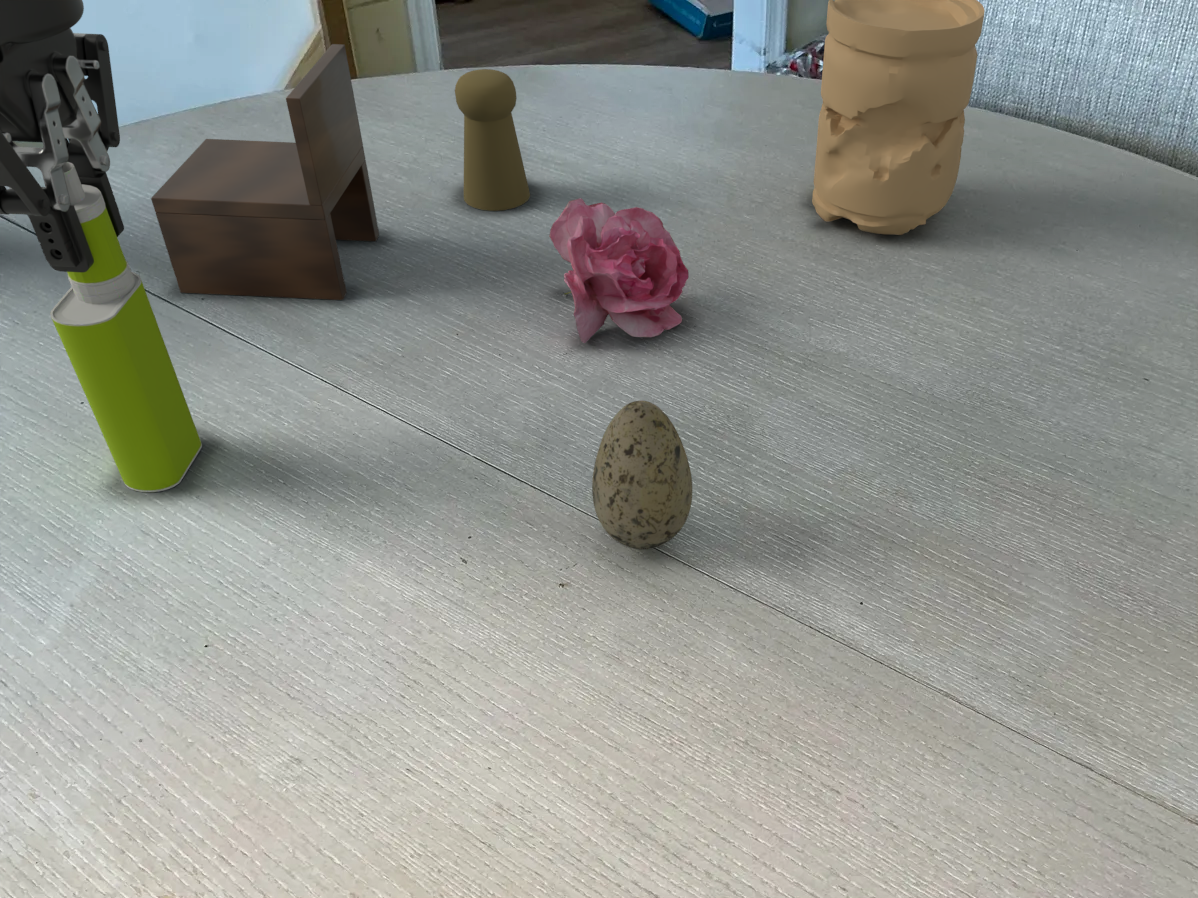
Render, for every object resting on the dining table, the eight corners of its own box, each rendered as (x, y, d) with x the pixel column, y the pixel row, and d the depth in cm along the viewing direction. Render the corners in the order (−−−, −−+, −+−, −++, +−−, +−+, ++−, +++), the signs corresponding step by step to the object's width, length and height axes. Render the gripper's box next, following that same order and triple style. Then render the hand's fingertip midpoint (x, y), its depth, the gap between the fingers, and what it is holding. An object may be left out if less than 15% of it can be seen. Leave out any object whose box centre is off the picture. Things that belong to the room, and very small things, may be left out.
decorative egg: (616, 582, 70) (610, 447, 63) (581, 522, 74) (571, 389, 67) (707, 555, 72) (710, 421, 65) (668, 498, 76) (667, 366, 69)
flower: (698, 350, 95) (712, 297, 85) (577, 376, 93) (577, 324, 83) (663, 223, 97) (672, 158, 87) (544, 246, 95) (540, 182, 85)
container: (784, 201, 108) (797, -6, 96) (889, 172, 113) (914, -28, 101) (870, 258, 100) (896, 40, 88) (979, 223, 105) (1018, 13, 93)
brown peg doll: (485, 217, 104) (470, 92, 97) (451, 192, 108) (434, 71, 100) (543, 198, 107) (533, 76, 100) (507, 175, 111) (495, 56, 103)
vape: (209, 434, 79) (108, 152, 65) (173, 493, 75) (56, 206, 61) (155, 431, 79) (42, 149, 65) (116, 490, 75) (-14, 201, 61)
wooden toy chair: (180, 292, 93) (116, 90, 83) (230, 228, 101) (178, 37, 91) (342, 300, 93) (299, 98, 82) (379, 235, 101) (344, 44, 91)
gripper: (-32, -119, 61) (81, 193, 73) (-205, -37, 50) (-41, 313, 62) (111, -113, 61) (201, 199, 72) (-33, -30, 50) (100, 320, 62)
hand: (89, 250), depth 67 cm, fingers closed on vape, 3 cm apart
